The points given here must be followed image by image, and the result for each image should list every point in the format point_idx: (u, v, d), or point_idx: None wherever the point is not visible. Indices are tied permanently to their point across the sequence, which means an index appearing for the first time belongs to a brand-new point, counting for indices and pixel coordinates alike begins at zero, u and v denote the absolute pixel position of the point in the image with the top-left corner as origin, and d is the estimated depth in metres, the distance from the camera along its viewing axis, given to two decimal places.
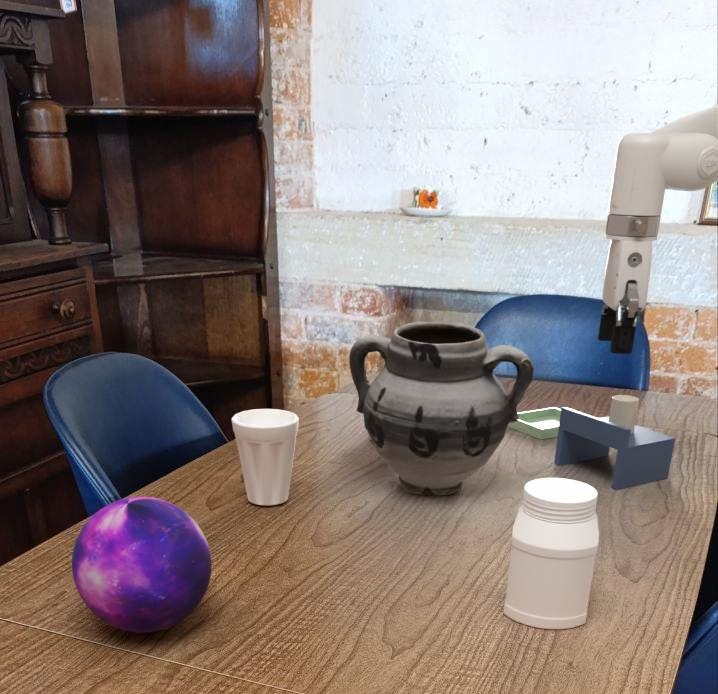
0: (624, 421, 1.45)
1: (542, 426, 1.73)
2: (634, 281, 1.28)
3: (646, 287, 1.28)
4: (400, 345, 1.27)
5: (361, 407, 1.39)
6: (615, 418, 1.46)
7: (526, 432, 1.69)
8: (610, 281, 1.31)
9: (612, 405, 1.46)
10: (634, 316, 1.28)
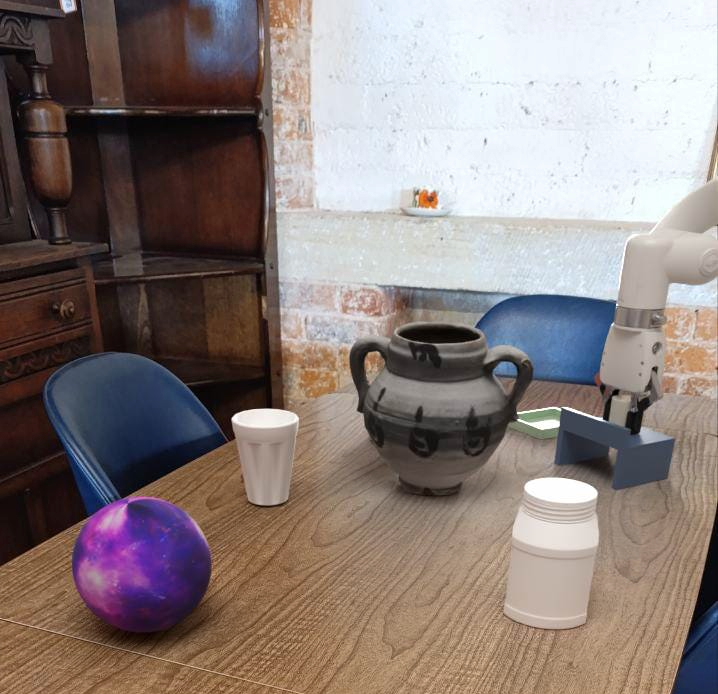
0: (624, 421, 1.45)
1: (542, 426, 1.73)
2: (654, 370, 1.40)
3: (663, 371, 1.41)
4: (400, 345, 1.27)
5: (361, 407, 1.39)
6: (615, 418, 1.46)
7: (526, 432, 1.69)
8: (628, 368, 1.41)
9: (612, 405, 1.46)
10: (652, 402, 1.42)
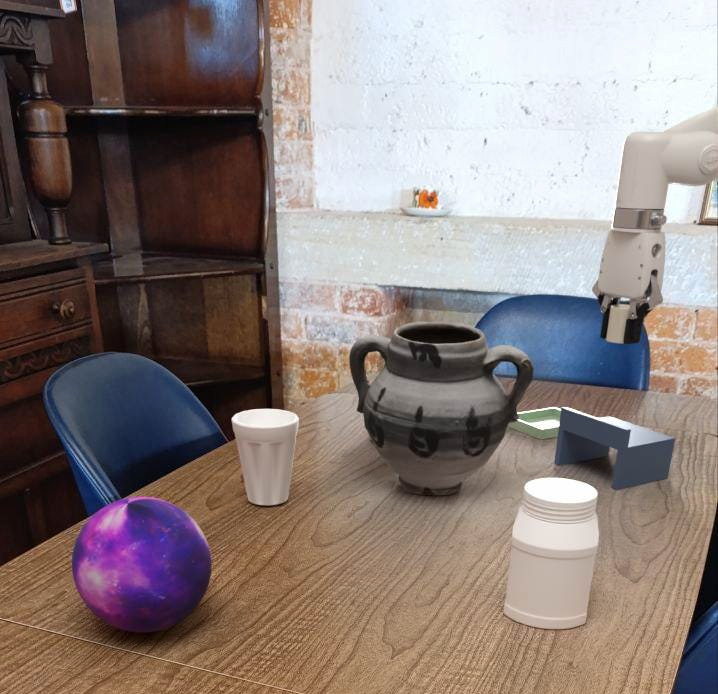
0: (623, 329, 1.43)
1: (542, 426, 1.73)
2: (654, 274, 1.37)
3: None
4: (400, 345, 1.27)
5: (361, 407, 1.39)
6: (614, 327, 1.43)
7: (526, 432, 1.69)
8: (627, 272, 1.38)
9: (611, 314, 1.43)
10: (652, 308, 1.39)
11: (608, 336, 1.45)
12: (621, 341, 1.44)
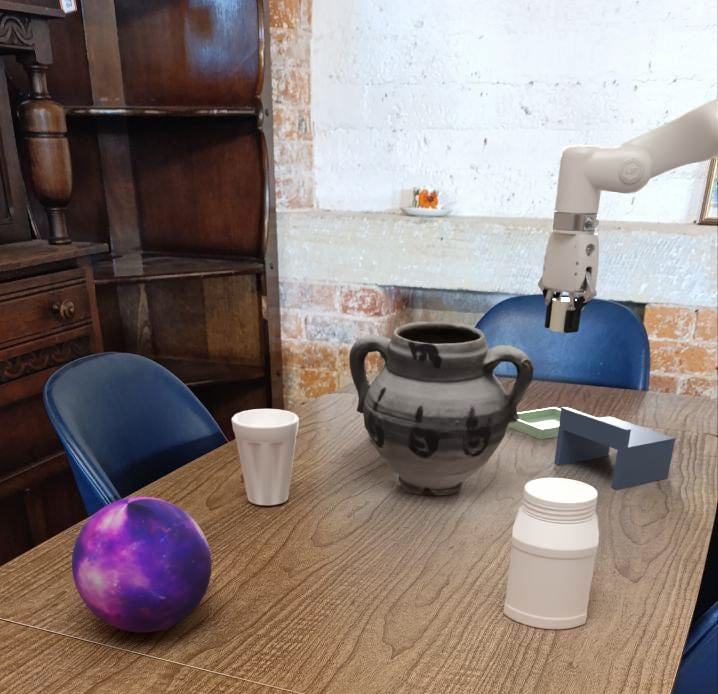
0: (563, 320, 1.61)
1: (542, 426, 1.73)
2: (588, 271, 1.56)
3: (597, 271, 1.56)
4: (400, 345, 1.27)
5: (361, 407, 1.39)
6: (556, 317, 1.61)
7: (526, 432, 1.69)
8: (565, 269, 1.56)
9: (553, 306, 1.62)
10: (587, 301, 1.58)
11: (551, 326, 1.63)
12: (562, 330, 1.62)
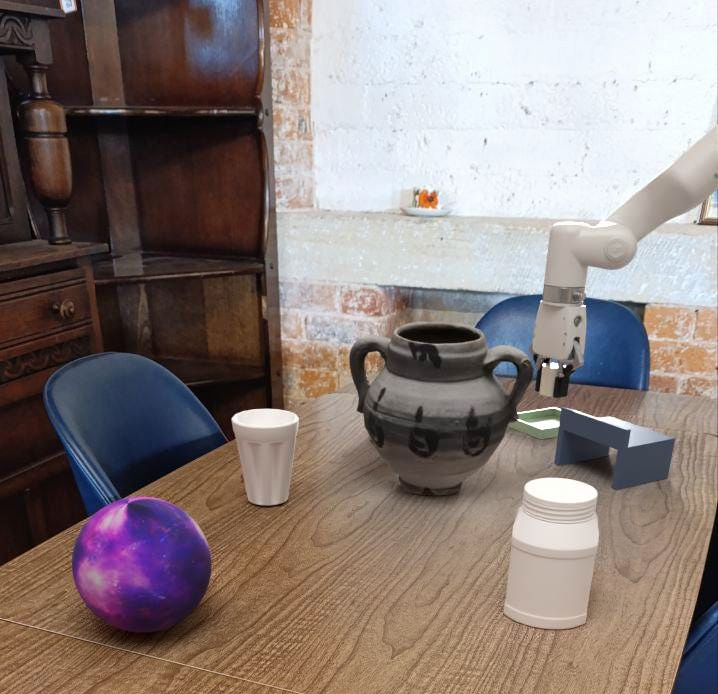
0: (552, 385, 1.68)
1: (542, 426, 1.73)
2: (576, 340, 1.62)
3: (584, 341, 1.63)
4: (400, 345, 1.27)
5: (361, 407, 1.39)
6: (545, 383, 1.68)
7: (526, 432, 1.69)
8: (554, 338, 1.63)
9: (542, 371, 1.68)
10: (575, 368, 1.64)
11: (540, 390, 1.70)
12: (551, 395, 1.69)
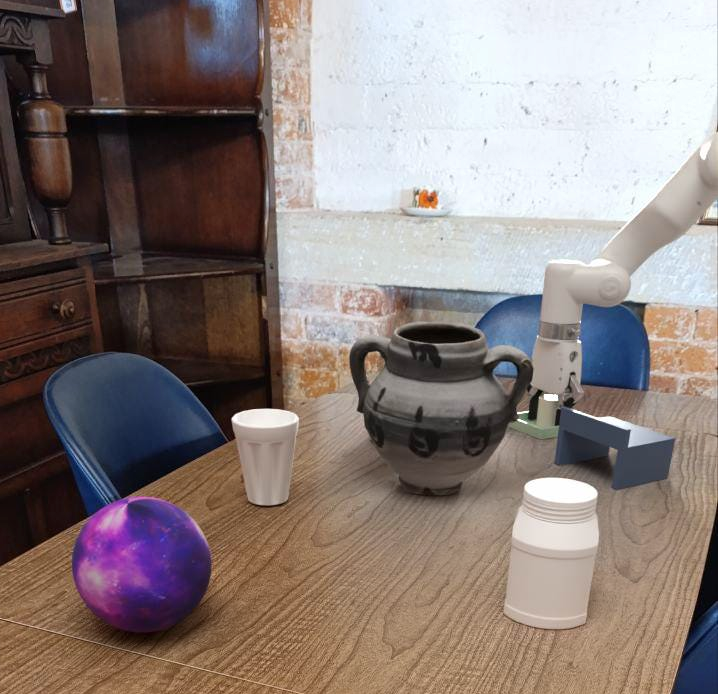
0: (549, 417, 1.71)
1: None
2: (573, 374, 1.65)
3: (580, 375, 1.66)
4: (400, 345, 1.27)
5: (361, 407, 1.39)
6: (542, 415, 1.71)
7: (526, 432, 1.69)
8: (550, 373, 1.66)
9: (539, 403, 1.71)
10: (577, 401, 1.66)
11: (537, 421, 1.73)
12: (547, 426, 1.71)
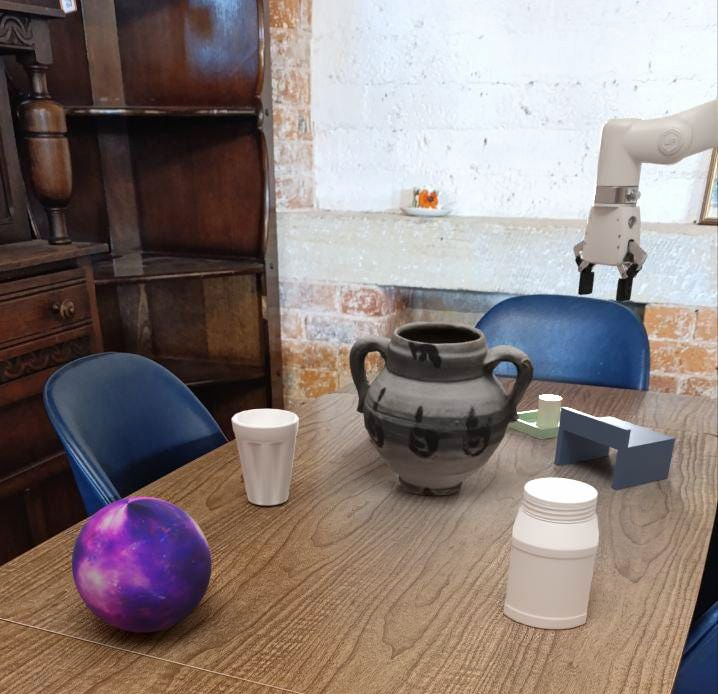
0: (549, 417, 1.71)
1: None
2: (632, 240, 1.57)
3: (639, 244, 1.58)
4: (400, 345, 1.27)
5: (361, 407, 1.39)
6: (542, 415, 1.71)
7: (526, 432, 1.69)
8: (607, 242, 1.58)
9: (539, 403, 1.71)
10: (640, 268, 1.57)
11: (537, 421, 1.73)
12: (547, 426, 1.71)
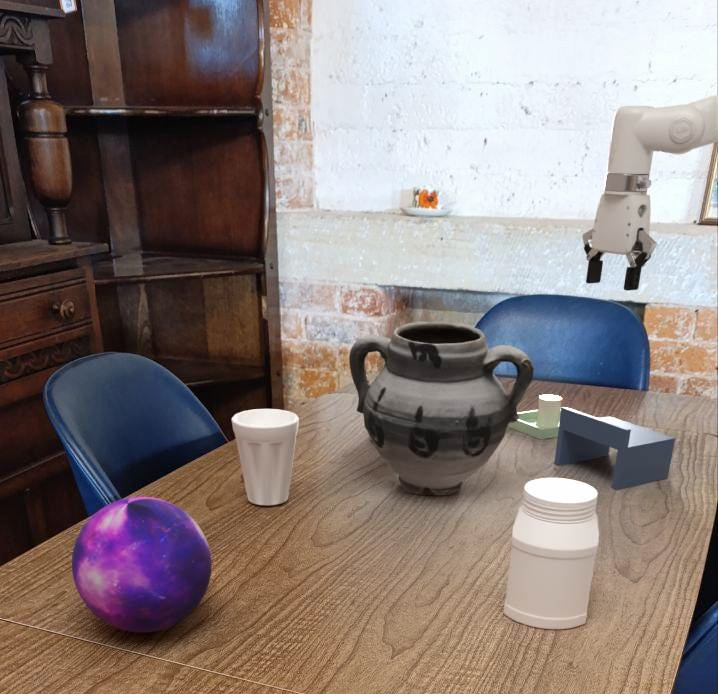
0: (549, 417, 1.71)
1: None
2: (641, 228, 1.56)
3: (648, 233, 1.57)
4: (400, 345, 1.27)
5: (361, 407, 1.39)
6: (542, 415, 1.71)
7: (526, 432, 1.69)
8: (616, 230, 1.58)
9: (539, 403, 1.71)
10: (649, 257, 1.56)
11: (537, 421, 1.73)
12: (547, 426, 1.71)
